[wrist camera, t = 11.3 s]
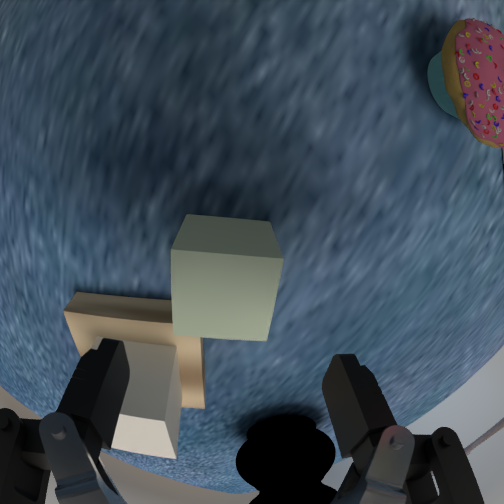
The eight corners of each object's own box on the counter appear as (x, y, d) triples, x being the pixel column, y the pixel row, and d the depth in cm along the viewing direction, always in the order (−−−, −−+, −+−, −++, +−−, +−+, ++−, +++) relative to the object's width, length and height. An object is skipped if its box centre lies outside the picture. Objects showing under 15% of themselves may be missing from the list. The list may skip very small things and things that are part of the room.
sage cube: (186, 213, 16) (170, 249, 12) (269, 221, 17) (283, 258, 12) (184, 284, 18) (173, 334, 14) (258, 290, 19) (266, 341, 15)
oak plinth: (79, 288, 18) (63, 310, 16) (203, 297, 20) (199, 325, 17) (107, 371, 23) (99, 394, 20) (205, 382, 24) (204, 408, 21)
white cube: (96, 336, 17) (67, 400, 11) (176, 346, 18) (164, 421, 12) (114, 386, 19) (98, 444, 14) (182, 395, 20) (176, 458, 15)
